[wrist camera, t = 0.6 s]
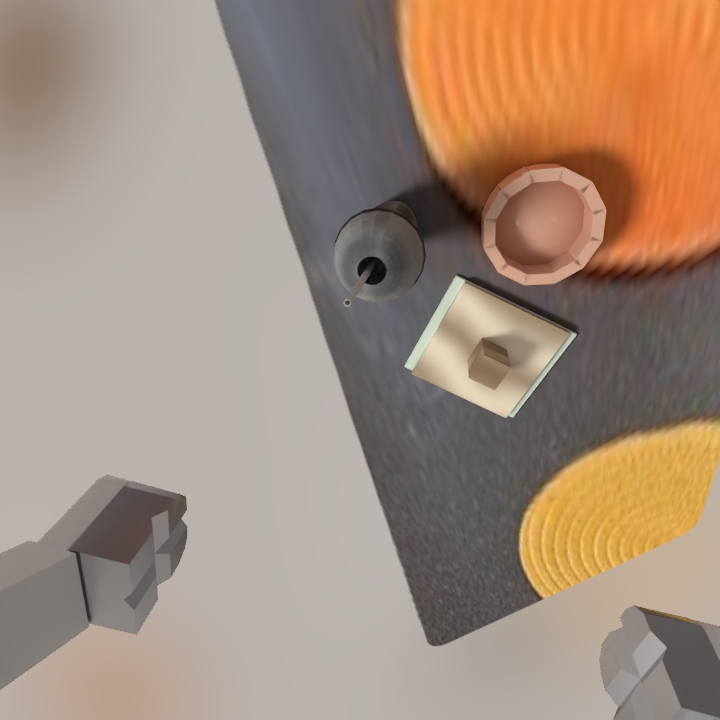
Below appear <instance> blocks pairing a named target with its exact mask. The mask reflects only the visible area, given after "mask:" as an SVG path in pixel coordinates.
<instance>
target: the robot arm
mask: <svg viewBox="0 0 720 720" xmlns="http://www.w3.org/2000/svg"><path fill="white" fill-rule="evenodd" d="M186 510H187V505H186V497H185V496H183V495H180V494H177V493H173V492H169V491H166V490H162V489H158V488H155V487H151V486H148V485H144V484H141V483H137V482H133V481H129V480H125V479H121V478H117V477H114V476H110V475H106V476H104V477H102V478H100V479H98V480H97V481H96V482H95V483H94V484H93V485H92V486H91V487H90V488H89V489H88V490H87V491H86V492H85V493H84V494H83V495H82V496H81V497H80V498H79V499H78V500H77V501H76V502H75V504H74V505H73V506H72V507H71V508H70V509H69V510H68V511H67V512H66V513H65V514H64V515H63V516H62V517H61V518H60V519H59V520H58V521H57V522H56V523H55V524H54V525H53V527H52V528H51V529H50V530H49V531H48V532H47V533H46V534H45V535H44V536H43V537H42V538H41V539H40V540H39V541H38V542H37V543H36V542H32V541H27V542H25V543H23V544H20V545H18V546H16V547H14V548H12V549H9V550H7V551H5V552H2V553H1V554H0V690H1V689H2V688H4V687H5V686H6V685H8V684H9V683H11V682H12V681H14V680H15V679H16V678H18V677H19V676H21V675H22V674H23V673H25V672H26V671H27V670H29V669H30V668H32V667H33V666H35V665H36V664H37V663H39V662H40V661H42V660H43V659H44V658H46V657H47V656H49V655H50V654H51V653H53V652H54V651H56V650H57V649H58V648H60V647H61V646H63V645H64V644H65V643H67V642H68V641H70V640H71V639H72V638H74V637H75V636H77V635H78V634H79V633H80V632H82V631H84V630H85V629H86V628H88V627H89V623H90V624H94V625H98V626H103V627H107V628H111V629H115V630H120V631H124V632H128V633H133V634H137V633H138V632H139V630H140V628H141V627H142V625H143V623H144V622H145V620H146V618H147V616H148V615H149V613H150V612H151V610H152V608H153V606H154V605H155V603H156V602H157V600H158V595H157V585H159V584H161V583H162V582H164V581H166V580H168V579H169V578H170V577H171V576H172V575H173V573H174V571H175V569H176V568H177V566H178V564H179V562H180V559H181V557H182V554H183V551H184V549H185V544H186V539H187V526H186V524H185V523H184V522H183V520H182V519H181V518H182V516H183V515H184V513H185V511H186ZM620 619H621V622H622V625H623V627H622V628H620V629H617V630H615V631H612V632H610V633H609V634H608V636H607V637H606V639H605V641H604V642H603V644H602V648H601V655H600V668H601V676H602V680H603V683H604V687H605V691H606V692H607V693H608V694H609V695H610V697H611V698H612V699H613V701H614V702H615V703H616V704H617V706H618V709H617V711H616V714H615V716H614V719H613V720H720V626H716V625H711V624H707V623H704V622H699V621H695V620H691V619H689V618H685V617H681V616H676V615H672V614H667V613H663V612H659V611H655V610H650V609H646V608H642V607H638V606H632V607H629V608H627V609H626V610H625V611H624V612H623V614H622V615H621V617H620Z"/></svg>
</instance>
